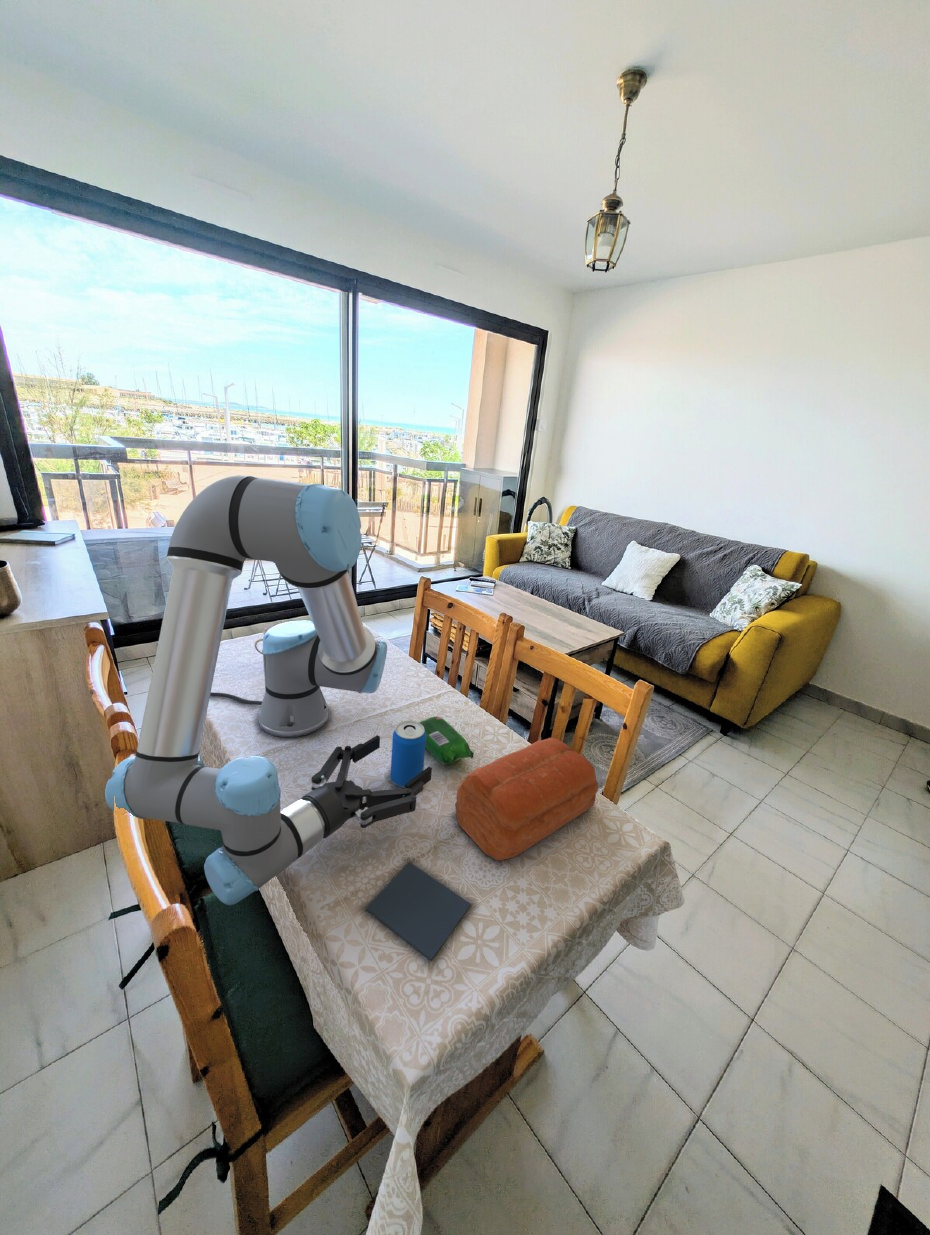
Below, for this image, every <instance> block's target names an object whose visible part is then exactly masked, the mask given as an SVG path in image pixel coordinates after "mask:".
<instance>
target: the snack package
mask: <svg viewBox="0 0 930 1235" xmlns="http://www.w3.org/2000/svg"><path fill="white" fill-rule="evenodd" d="M418 723H420V724H421V725H423V727H424V730H425V732H426V745H425V749H426V750H427V751H428V752H429V753H430V754H431V755H432V756H433V757H434V758H435V759H436V760H437V761H438V762H439V763H441V764H442V765H445V766H446V765H448V764H449V765H452V764H454V763H455V762H457V761H459V760H461V759H467V758H471V759H474V754H475V753H474V751H472V750H471V748H470V746H469V743H468V742H467V740H466V739H465V737H464V736H462V735H461V734H460V733H459V731H457V730H456V729H455V728H454V727H453V726H452V725H451V724H450V723H449V722H448V721H447V720H446V719H444V718H443V717H441V716H432V717H429V718H426V719H424V720H421V721H419V722H418Z"/></svg>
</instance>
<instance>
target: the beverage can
mask: <svg viewBox="0 0 930 1235" xmlns="http://www.w3.org/2000/svg"><path fill="white" fill-rule="evenodd" d="M391 741H392V742H391V756H390V757H391V758H390V774H389V775H390V776H389V777H390V779H391V781H392V783H393V784H395V785H396V786H397V787H401V788H405V784H406V783H407V782H409V781H410V780H411V779H413V778H414V777H415V776H417V775H418V774H419V773H421V772H422V771H423V770H424V766H425V756H426V747H425V745H426V732H425V730H424V727H423V725H421V724H420V723H419V722H418V721H414V720H404V721H401V722H399V723H397V725H396V726H395V728H394V730H393V732H392V739H391Z"/></svg>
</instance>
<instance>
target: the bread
mask: <svg viewBox="0 0 930 1235" xmlns="http://www.w3.org/2000/svg"><path fill="white" fill-rule="evenodd" d="M598 790H599V782H598V780H597V775H596V770H595V766H594V765H593V764H592V763H591V762H589V760H588V759H587V758H586V757H585V756H584V755H582V754H580V753H578V752H576V751H574V750H572V749H571V748H570V746H568V745H567V744H566V743H564V742H563V741H562V740H560V739H559V738H555V737H548V738H545V739H541V740H537V741H535V742H533V743H531V744H529V745H527V746H525V747H523V748H521V749H519V750H517V751H514V752H511V753H508V754H506V755H503V756H501V757H499V758H497V759H496V760H494V761H492V762H491V763H489V764H488V763H487V764H486V765H482V766H480V767H478V768H475V769H473V771H471V772H469V773H468V774H467V775H466V777H465V779H464V780H462V781H460V784H459V786H458V788H457V790H456V801H455V804H454V807H455V812H456V818H457V823H458V824H457V825H459V826H460V827H461V829H462V830H463V831H464V832H465V833H466V834H467V835H468V836H469V837H470V839H471V840H472V841H473V842H474V843H475V844H476V845H477V847H478V848H480V850H482V852H483V853H484V854H485V855H487V856H488V857H490V858H492V859H494V860H496V861H497V862H498V861H503V860H508V859H512V858H515V857H517V856H518V855H520V854H522V853H523V852H525V851H526V850H528V849H530V848H531V847H533V846H535V845H536V844H538V843H539V842H541V841H542V840H544V839H545V838H547V837H548V836H550V835H552V834H553V833H554V832H556V831H558V830H559V829H561V828H563V826H565V825H567V824H568V823H570V822H572V821H573V820H574V819H576V818H577V817H579V816H581V815H582V814H583V813H585V812H587V811H588V810H589V809H591V808H592V806H593V805H594V804H595V802H596V799H597V798H596V795H597V793H598Z"/></svg>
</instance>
